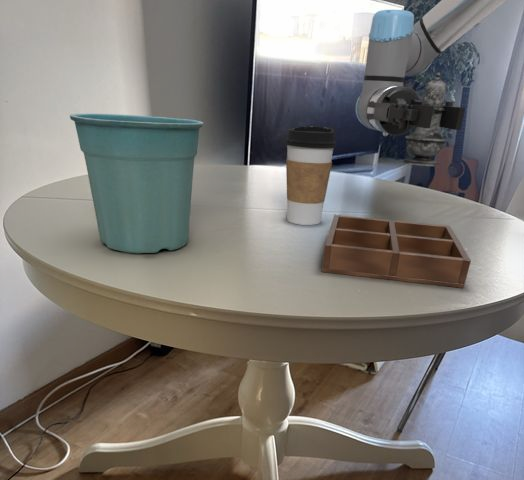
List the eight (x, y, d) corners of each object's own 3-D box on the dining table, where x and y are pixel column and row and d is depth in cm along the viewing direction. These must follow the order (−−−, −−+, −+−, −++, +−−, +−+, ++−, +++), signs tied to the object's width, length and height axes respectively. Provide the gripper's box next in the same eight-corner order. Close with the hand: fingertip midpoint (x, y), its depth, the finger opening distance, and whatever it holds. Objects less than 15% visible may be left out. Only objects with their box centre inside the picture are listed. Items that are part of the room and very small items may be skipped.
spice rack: (445, 248, 73) (450, 225, 72) (463, 288, 58) (471, 260, 57) (331, 236, 76) (334, 214, 74) (321, 271, 61) (324, 245, 59)
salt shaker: (403, 159, 76) (419, 72, 70) (442, 163, 74) (461, 73, 68) (398, 163, 71) (414, 69, 65) (439, 167, 69) (460, 71, 63)
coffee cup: (333, 219, 86) (344, 128, 79) (318, 229, 80) (328, 131, 72) (290, 213, 89) (297, 124, 82) (272, 222, 83) (278, 126, 75)
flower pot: (155, 222, 79) (149, 113, 71) (227, 244, 70) (229, 122, 62) (62, 239, 67) (43, 112, 60) (133, 268, 58) (121, 123, 51)
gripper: (434, 136, 87) (496, 151, 67) (344, 131, 86) (379, 145, 66) (444, 89, 84) (512, 90, 63) (350, 83, 82) (389, 82, 62)
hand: (444, 118), depth 64 cm, fingers closed on salt shaker, 4 cm apart
